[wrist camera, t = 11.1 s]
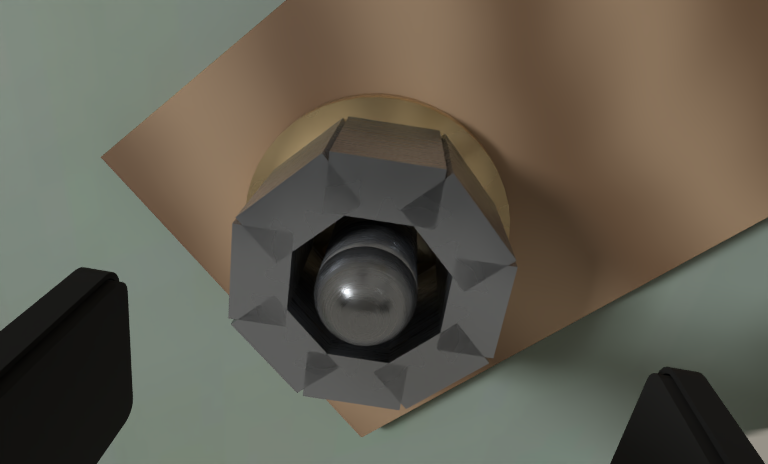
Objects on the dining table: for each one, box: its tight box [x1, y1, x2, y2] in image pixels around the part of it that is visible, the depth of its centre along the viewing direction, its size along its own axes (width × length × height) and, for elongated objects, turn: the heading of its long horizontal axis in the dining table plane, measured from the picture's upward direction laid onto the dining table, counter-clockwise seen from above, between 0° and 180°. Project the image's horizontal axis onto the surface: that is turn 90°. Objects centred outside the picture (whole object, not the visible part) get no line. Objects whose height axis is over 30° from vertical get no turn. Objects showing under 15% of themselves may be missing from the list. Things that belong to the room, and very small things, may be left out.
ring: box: [228, 116, 518, 410], centre depth 16 cm, size 7×7×4 cm
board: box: [101, 0, 768, 437], centre depth 15 cm, size 26×14×6 cm, turn 126°
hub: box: [246, 93, 510, 346], centre depth 16 cm, size 8×8×6 cm
